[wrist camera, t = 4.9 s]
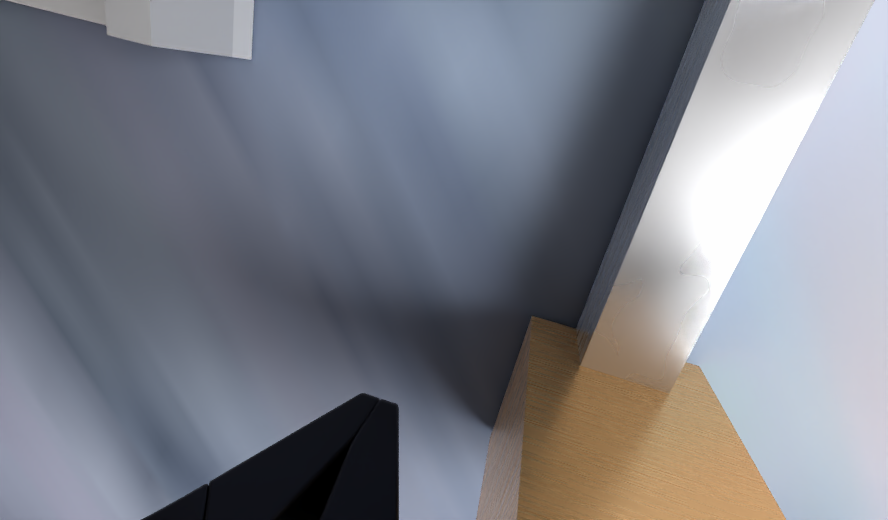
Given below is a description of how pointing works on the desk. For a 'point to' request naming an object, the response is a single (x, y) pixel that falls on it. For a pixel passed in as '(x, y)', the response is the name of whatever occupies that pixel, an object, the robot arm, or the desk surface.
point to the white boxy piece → (669, 290)
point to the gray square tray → (168, 22)
